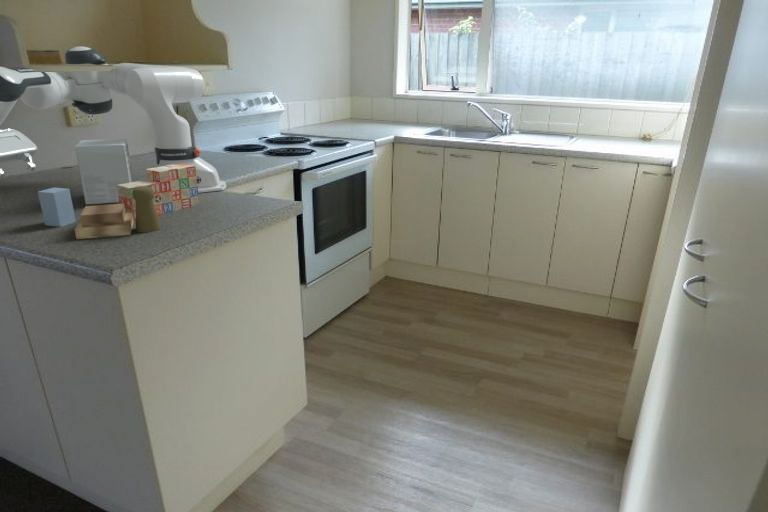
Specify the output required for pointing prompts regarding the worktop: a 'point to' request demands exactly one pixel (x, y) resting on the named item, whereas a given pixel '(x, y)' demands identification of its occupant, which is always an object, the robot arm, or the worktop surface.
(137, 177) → the worktop surface
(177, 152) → the robot arm
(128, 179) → the supplement box
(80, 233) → the plinth
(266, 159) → the worktop surface
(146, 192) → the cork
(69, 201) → the pillar
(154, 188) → the stack of blocks
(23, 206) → the worktop surface
